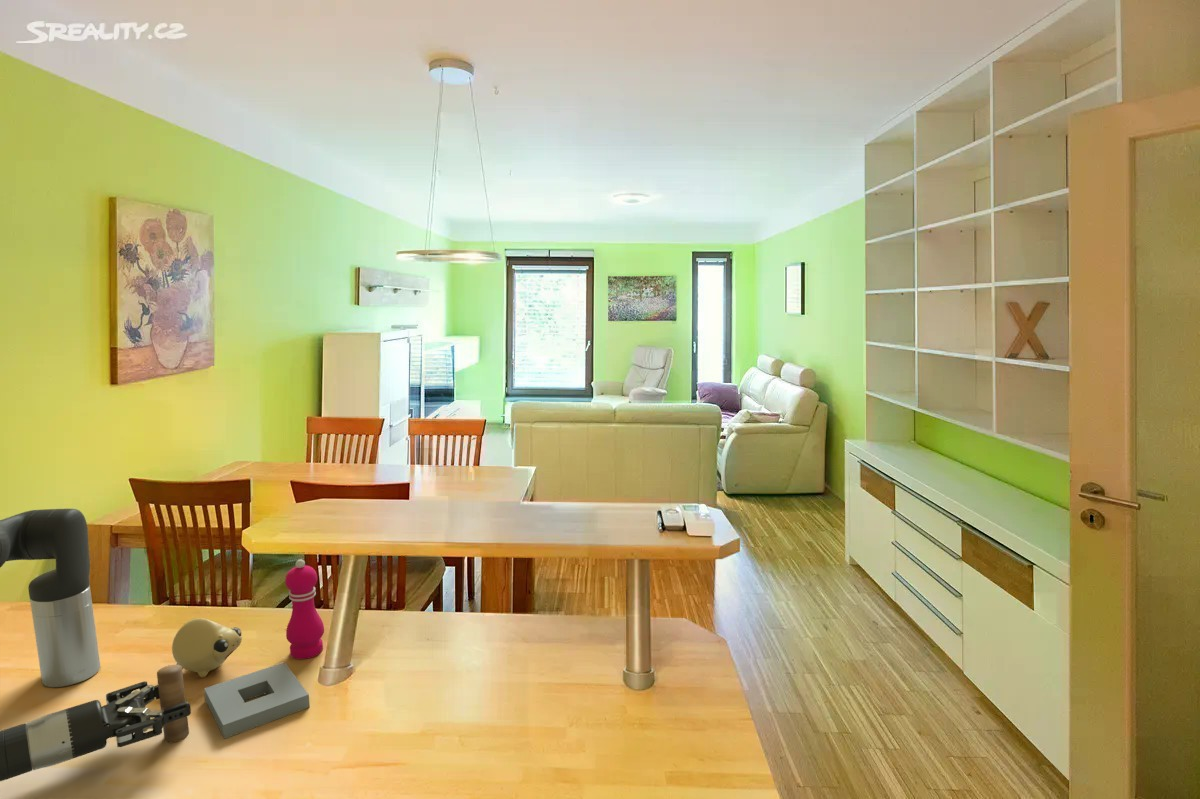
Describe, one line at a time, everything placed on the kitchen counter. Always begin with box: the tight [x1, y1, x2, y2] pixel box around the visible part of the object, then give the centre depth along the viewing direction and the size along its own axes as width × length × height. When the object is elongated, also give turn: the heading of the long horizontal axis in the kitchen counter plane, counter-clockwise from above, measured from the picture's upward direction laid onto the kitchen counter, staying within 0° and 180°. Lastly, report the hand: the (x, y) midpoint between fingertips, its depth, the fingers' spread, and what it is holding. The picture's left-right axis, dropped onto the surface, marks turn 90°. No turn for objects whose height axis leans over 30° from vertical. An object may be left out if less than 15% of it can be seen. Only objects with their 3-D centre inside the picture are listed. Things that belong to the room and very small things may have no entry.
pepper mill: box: [284, 558, 325, 660], centre depth 148 cm, size 7×7×20 cm
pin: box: [156, 664, 190, 743], centre depth 122 cm, size 4×4×12 cm
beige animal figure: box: [171, 617, 243, 678], centre depth 142 cm, size 10×12×11 cm
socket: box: [203, 661, 310, 739], centre depth 131 cm, size 14×14×2 cm
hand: (184, 696), depth 123 cm, fingers open, 8 cm apart
